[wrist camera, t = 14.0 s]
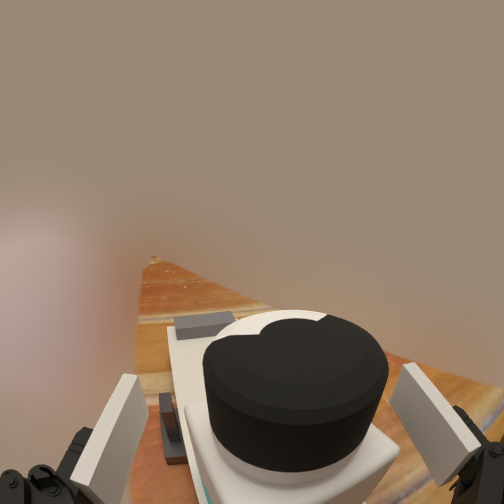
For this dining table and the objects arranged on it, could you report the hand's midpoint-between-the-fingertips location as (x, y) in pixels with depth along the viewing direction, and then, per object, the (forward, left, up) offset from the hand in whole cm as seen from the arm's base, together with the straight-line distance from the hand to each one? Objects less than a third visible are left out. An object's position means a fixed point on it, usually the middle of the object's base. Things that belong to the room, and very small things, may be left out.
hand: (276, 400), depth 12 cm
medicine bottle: (+2, +2, -7) cm, 7 cm away
